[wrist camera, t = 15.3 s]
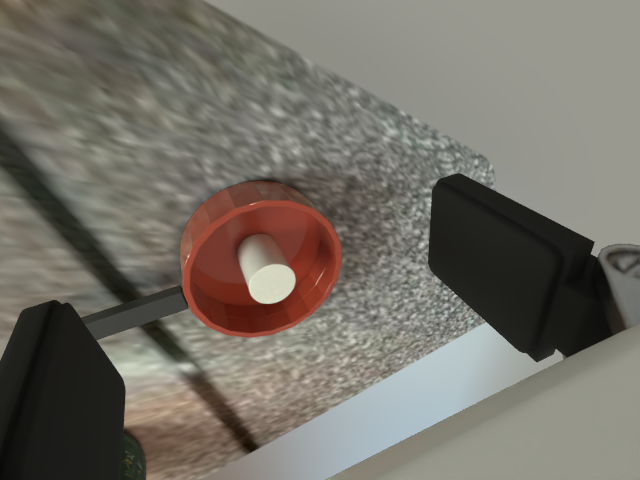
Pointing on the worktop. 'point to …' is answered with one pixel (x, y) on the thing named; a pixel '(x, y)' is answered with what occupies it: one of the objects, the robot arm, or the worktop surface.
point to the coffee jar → (132, 460)
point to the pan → (223, 267)
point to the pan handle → (136, 312)
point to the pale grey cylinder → (265, 269)
